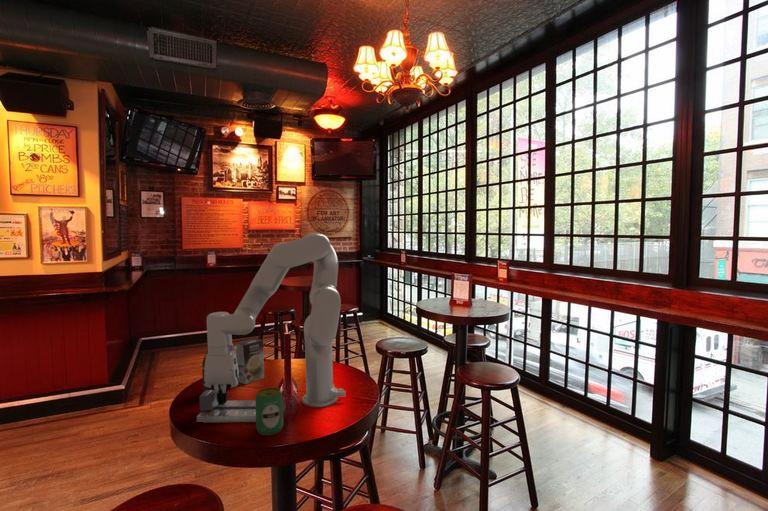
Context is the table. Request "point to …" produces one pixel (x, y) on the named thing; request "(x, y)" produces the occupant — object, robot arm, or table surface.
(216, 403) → the fader cap
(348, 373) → the table surface
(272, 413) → the beverage can
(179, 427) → the table surface
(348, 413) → the table surface
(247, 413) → the console
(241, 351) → the coffee box
